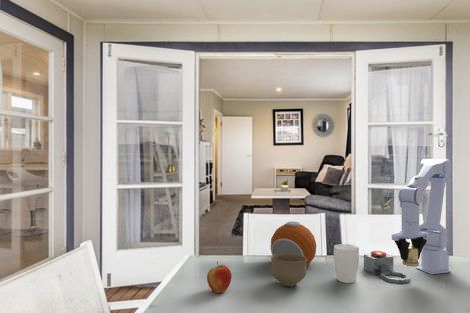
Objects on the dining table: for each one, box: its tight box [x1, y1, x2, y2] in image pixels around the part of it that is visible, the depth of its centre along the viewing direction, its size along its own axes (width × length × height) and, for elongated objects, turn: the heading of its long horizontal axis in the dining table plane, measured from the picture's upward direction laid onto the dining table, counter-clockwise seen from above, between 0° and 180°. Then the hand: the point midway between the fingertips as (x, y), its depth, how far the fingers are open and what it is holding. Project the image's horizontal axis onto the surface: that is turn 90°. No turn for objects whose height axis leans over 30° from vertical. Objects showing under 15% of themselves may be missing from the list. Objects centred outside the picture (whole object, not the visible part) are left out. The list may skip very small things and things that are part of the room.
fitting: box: [402, 245, 420, 268], centre depth 127 cm, size 5×5×6 cm
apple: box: [206, 261, 232, 294], centre depth 119 cm, size 8×8×10 cm
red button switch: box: [363, 250, 411, 285], centre depth 136 cm, size 10×20×7 cm, turn 17°
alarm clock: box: [270, 221, 317, 268], centre depth 149 cm, size 19×18×17 cm
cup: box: [333, 243, 360, 284], centre depth 130 cm, size 9×9×12 cm
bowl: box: [270, 254, 307, 287], centre depth 125 cm, size 13×13×10 cm
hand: (410, 259), depth 127 cm, fingers closed on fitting, 5 cm apart
